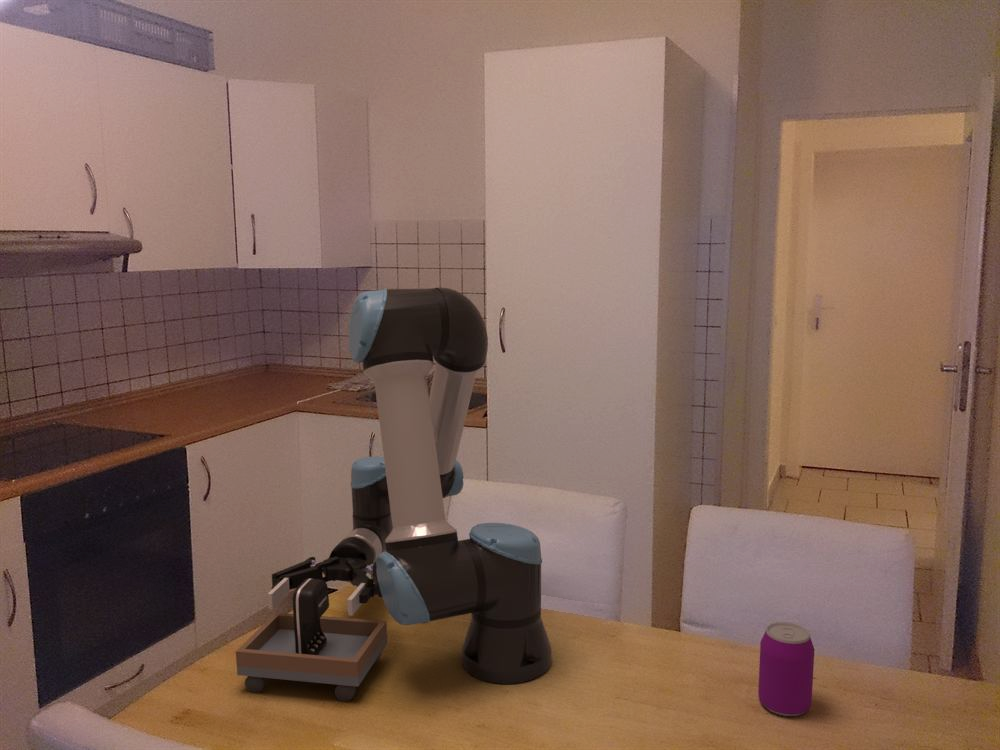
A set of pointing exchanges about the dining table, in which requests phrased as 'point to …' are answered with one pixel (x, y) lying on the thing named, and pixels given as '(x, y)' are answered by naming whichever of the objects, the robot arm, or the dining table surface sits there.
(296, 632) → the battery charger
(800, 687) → the beverage can
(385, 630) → the tray
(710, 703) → the dining table surface
